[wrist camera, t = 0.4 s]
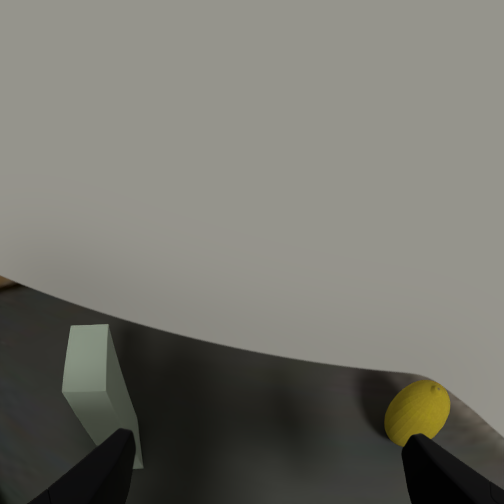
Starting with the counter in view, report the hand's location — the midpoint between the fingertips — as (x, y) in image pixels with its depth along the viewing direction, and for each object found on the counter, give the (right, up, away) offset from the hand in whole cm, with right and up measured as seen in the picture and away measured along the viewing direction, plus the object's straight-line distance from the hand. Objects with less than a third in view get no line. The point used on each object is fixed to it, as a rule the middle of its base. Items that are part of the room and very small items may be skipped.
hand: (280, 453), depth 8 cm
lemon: (+13, -12, +16) cm, 24 cm away
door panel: (-11, -10, +13) cm, 20 cm away
